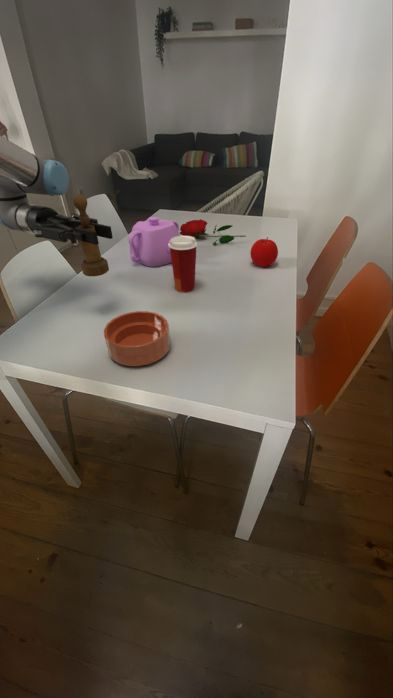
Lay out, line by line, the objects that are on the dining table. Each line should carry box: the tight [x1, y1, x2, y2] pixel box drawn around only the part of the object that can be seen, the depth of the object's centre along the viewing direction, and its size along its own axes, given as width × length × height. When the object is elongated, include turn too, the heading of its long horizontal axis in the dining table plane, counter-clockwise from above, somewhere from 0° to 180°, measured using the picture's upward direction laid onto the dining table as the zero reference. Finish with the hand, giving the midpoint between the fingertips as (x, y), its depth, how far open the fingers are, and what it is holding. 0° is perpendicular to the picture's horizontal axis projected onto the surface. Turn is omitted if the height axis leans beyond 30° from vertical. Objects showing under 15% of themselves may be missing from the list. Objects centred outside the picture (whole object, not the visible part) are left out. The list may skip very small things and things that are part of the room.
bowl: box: [103, 310, 171, 367], centre depth 73 cm, size 14×14×6 cm
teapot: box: [128, 216, 181, 268], centre depth 114 cm, size 19×21×14 cm
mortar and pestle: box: [72, 194, 110, 277], centre depth 76 cm, size 7×6×18 cm
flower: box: [179, 218, 247, 246], centre depth 128 cm, size 9×9×30 cm
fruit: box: [249, 236, 279, 268], centre depth 108 cm, size 9×9×10 cm
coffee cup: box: [168, 235, 198, 293], centre depth 94 cm, size 8×8×15 cm
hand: (103, 235), depth 73 cm, fingers closed on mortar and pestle, 4 cm apart
